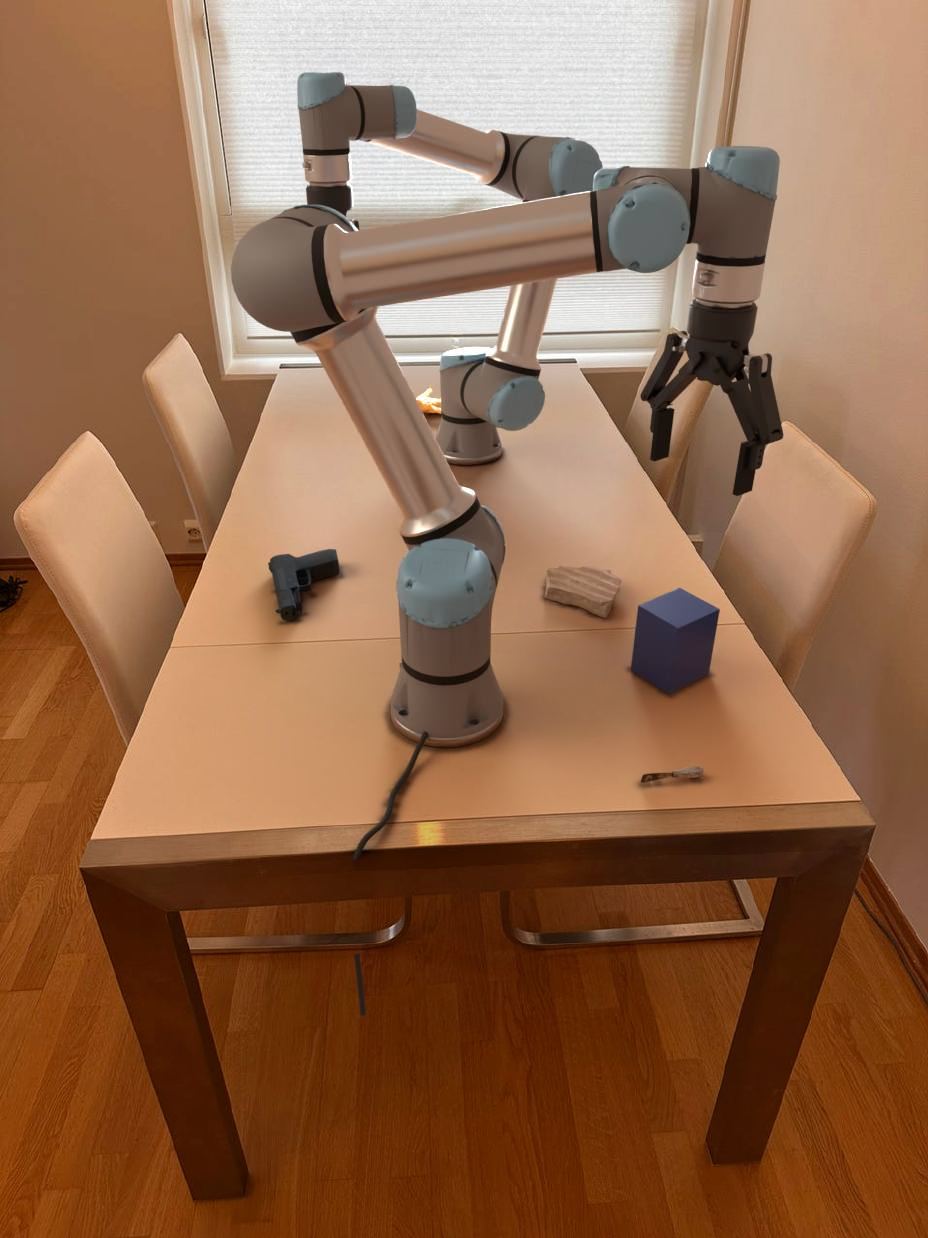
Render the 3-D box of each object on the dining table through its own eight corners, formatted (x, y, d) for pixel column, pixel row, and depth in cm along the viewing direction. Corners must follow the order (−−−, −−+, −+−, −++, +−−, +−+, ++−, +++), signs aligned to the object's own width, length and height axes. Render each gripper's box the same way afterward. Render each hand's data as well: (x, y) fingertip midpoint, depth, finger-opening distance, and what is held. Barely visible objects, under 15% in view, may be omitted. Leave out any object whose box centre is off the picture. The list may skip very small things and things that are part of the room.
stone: (626, 584, 150) (627, 571, 148) (608, 619, 140) (609, 605, 139) (553, 571, 154) (553, 558, 153) (530, 604, 145) (530, 590, 143)
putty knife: (703, 777, 109) (705, 767, 109) (642, 788, 108) (644, 777, 107) (700, 772, 110) (702, 762, 109) (639, 782, 109) (640, 771, 108)
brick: (670, 650, 133) (679, 587, 128) (709, 674, 128) (720, 609, 122) (630, 669, 129) (637, 605, 123) (668, 694, 124) (678, 628, 118)
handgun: (352, 612, 143) (277, 623, 140) (336, 561, 157) (267, 570, 155) (351, 595, 141) (274, 606, 139) (334, 545, 156) (265, 554, 153)
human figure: (395, 413, 223) (394, 398, 221) (438, 390, 237) (438, 375, 235) (462, 429, 215) (462, 413, 213) (502, 404, 229) (503, 388, 227)
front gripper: (622, 285, 108) (608, 451, 119) (796, 327, 91) (760, 516, 102) (665, 278, 112) (648, 439, 123) (840, 316, 95) (801, 500, 106)
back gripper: (273, 178, 151) (287, 307, 162) (346, 192, 134) (356, 336, 145) (313, 175, 155) (324, 301, 166) (389, 188, 138) (395, 329, 149)
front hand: (698, 475), depth 113 cm, fingers open, 13 cm apart
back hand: (339, 318), depth 156 cm, fingers open, 13 cm apart
